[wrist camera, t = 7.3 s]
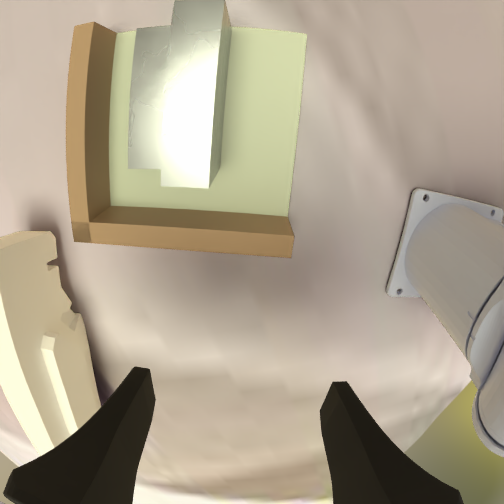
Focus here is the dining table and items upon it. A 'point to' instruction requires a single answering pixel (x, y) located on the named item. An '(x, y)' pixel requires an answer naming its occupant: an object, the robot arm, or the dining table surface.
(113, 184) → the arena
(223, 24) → the angle bracket
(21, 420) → the shelf bracket
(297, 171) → the dining table surface
